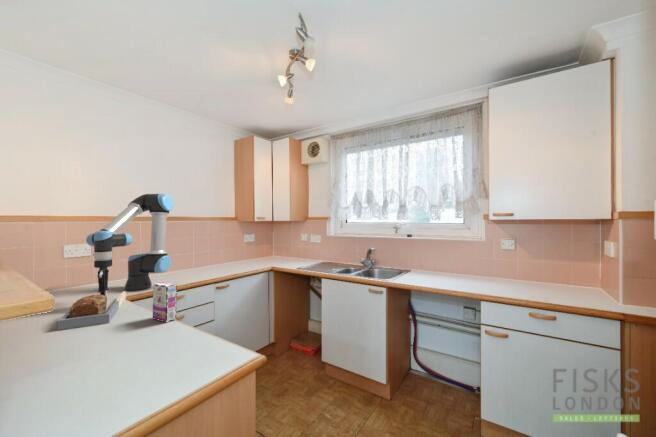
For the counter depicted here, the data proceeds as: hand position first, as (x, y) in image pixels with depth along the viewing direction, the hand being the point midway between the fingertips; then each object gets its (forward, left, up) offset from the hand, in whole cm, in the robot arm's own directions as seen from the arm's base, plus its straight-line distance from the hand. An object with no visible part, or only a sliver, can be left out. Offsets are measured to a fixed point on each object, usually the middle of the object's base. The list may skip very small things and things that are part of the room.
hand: (103, 303), depth 146 cm
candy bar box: (-30, +39, -2) cm, 49 cm away
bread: (+2, +19, -2) cm, 20 cm away
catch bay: (0, +9, -2) cm, 9 cm away
